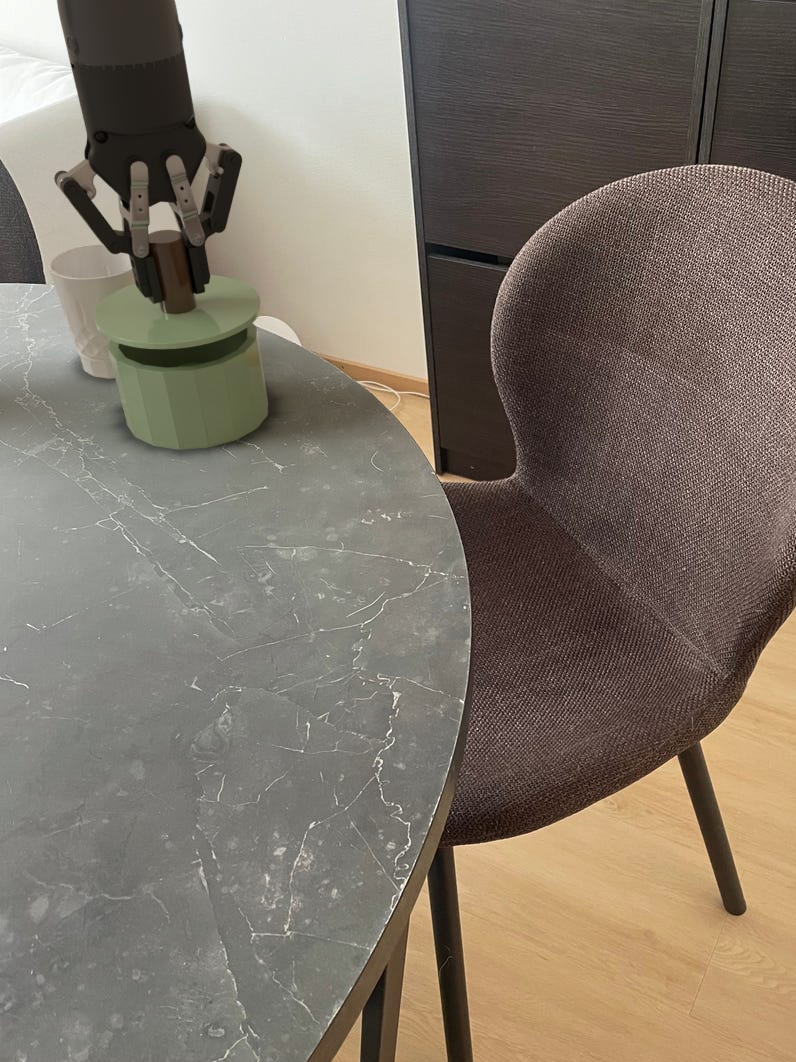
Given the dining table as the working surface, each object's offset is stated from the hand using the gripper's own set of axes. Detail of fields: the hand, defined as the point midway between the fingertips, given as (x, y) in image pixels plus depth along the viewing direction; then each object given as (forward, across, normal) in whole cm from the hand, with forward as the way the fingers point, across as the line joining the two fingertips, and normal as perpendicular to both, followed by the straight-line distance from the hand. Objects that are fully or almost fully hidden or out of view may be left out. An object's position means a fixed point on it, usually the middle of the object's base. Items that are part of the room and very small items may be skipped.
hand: (175, 293), depth 81 cm
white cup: (+11, +3, -13) cm, 17 cm away
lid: (+2, 0, 0) cm, 2 cm away
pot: (+11, 0, 0) cm, 11 cm away
